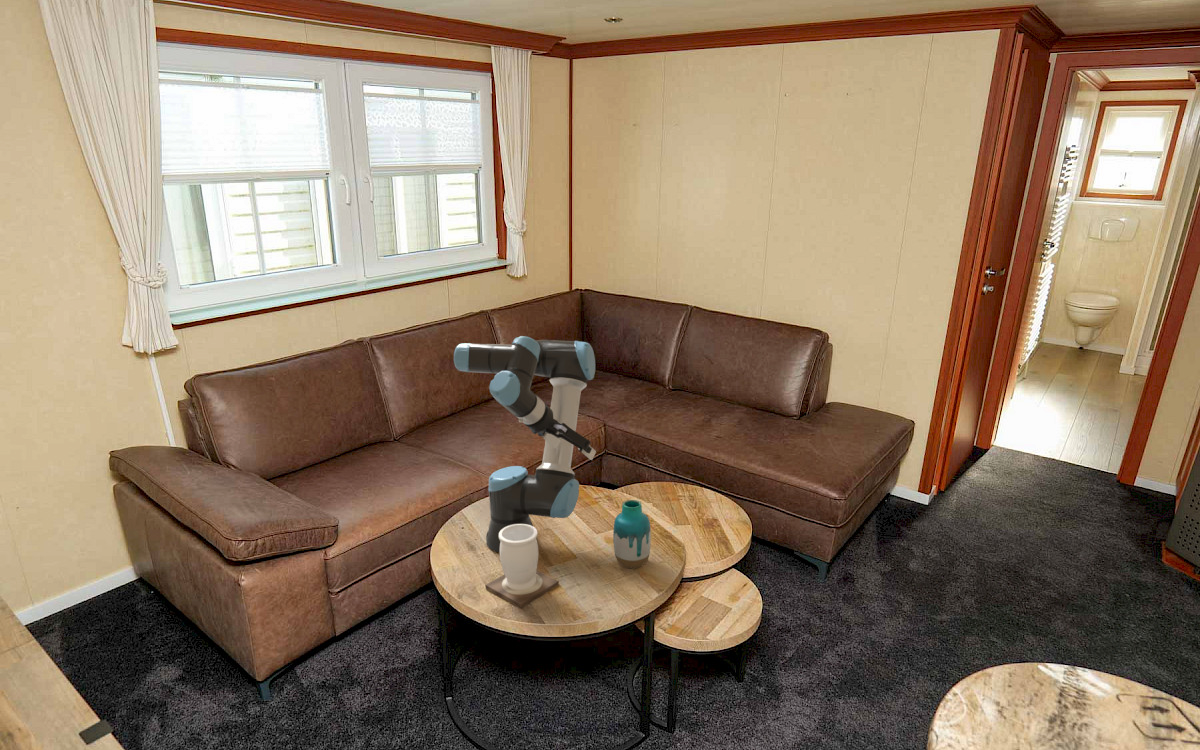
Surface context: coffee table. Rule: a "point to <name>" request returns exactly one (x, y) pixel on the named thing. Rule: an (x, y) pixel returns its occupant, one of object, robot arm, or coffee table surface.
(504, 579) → the walnut board
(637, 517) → the vase
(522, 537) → the jar
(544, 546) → the coffee table surface
